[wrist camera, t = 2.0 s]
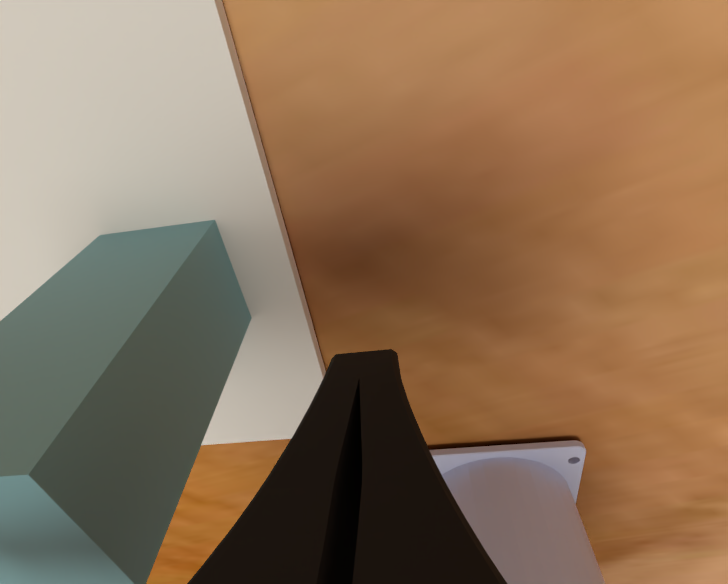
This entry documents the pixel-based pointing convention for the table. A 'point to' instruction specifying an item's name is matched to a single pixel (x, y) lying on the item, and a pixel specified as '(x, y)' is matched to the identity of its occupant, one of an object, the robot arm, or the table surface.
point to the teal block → (111, 401)
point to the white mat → (150, 174)
